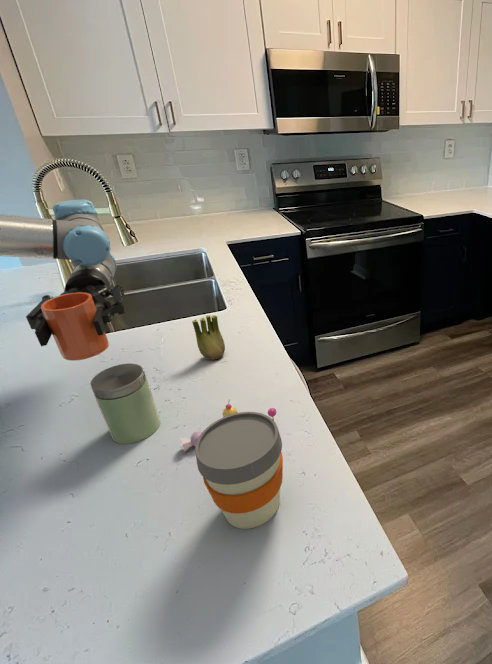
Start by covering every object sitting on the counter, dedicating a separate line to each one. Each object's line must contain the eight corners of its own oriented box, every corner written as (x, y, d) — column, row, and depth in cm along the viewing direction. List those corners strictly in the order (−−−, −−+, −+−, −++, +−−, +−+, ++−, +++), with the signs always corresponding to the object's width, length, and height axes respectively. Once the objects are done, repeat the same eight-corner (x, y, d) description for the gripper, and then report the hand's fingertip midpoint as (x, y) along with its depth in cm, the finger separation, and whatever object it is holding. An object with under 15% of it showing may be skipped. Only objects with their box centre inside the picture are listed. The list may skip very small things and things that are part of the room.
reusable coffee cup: (245, 466, 78) (231, 403, 70) (304, 487, 73) (295, 421, 66) (196, 524, 67) (173, 456, 60) (261, 551, 63) (245, 481, 56)
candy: (187, 462, 78) (180, 438, 76) (180, 437, 84) (173, 413, 82) (279, 426, 87) (276, 403, 84) (266, 405, 93) (263, 383, 90)
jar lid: (83, 393, 79) (79, 384, 78) (123, 367, 87) (120, 359, 86) (117, 403, 77) (114, 394, 76) (155, 376, 84) (153, 368, 83)
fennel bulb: (200, 362, 108) (189, 321, 103) (206, 351, 113) (197, 312, 107) (222, 361, 108) (213, 321, 103) (228, 351, 113) (219, 311, 107)
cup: (54, 353, 77) (32, 304, 72) (96, 335, 82) (78, 289, 78) (75, 365, 73) (53, 314, 69) (117, 345, 79) (100, 297, 74)
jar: (101, 437, 84) (79, 387, 79) (138, 409, 92) (121, 362, 86) (134, 448, 82) (115, 398, 76) (170, 419, 89) (154, 371, 83)
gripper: (147, 292, 95) (143, 339, 77) (38, 309, 87) (5, 366, 69) (138, 261, 91) (131, 302, 73) (24, 276, 84) (-16, 326, 66)
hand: (70, 333), depth 71 cm, fingers closed on cup, 8 cm apart
